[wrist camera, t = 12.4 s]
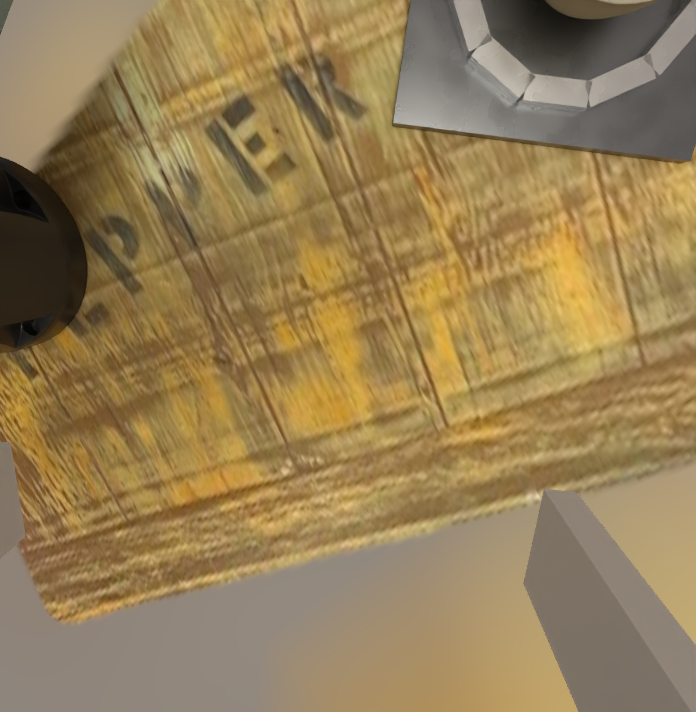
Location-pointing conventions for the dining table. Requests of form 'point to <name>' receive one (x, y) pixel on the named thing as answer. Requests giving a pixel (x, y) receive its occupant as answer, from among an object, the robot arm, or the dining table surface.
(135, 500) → the dining table surface
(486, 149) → the dining table surface
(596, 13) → the flower pot
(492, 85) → the ring plate
